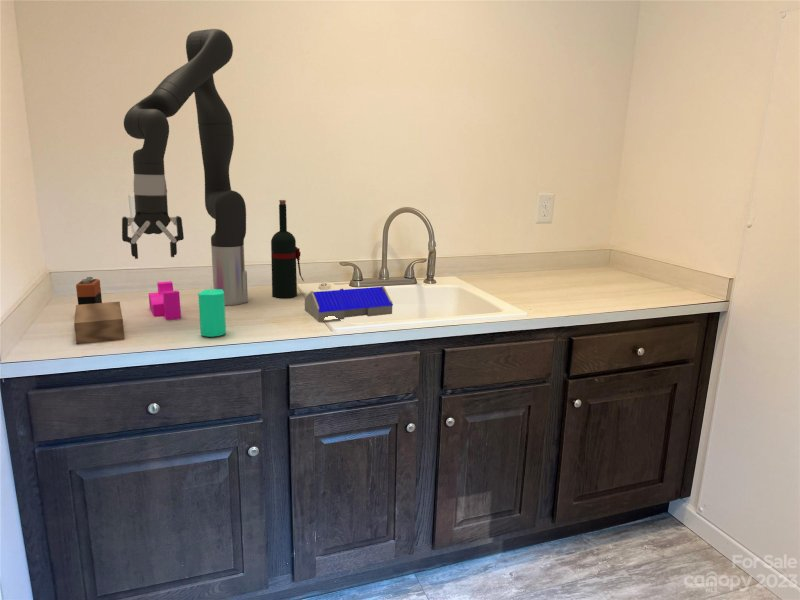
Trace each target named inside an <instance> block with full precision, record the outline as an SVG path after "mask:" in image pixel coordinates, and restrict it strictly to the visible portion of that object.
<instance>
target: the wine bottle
mask: <svg viewBox="0 0 800 600" xmlns="http://www.w3.org/2000/svg"><path fill="white" fill-rule="evenodd" d="M278 201H279V204H278V212H279V213H278V221H279V222H278V223H279V230H278V231H277V232H275V233H274V234H273V235H272V238H271V241H270V246H271V247H270V249H271V250H270V253H271V256H270V257H271V297H272V298H275V299H279V300H280V299H281V300H283V299H286V300H287V299H294V298H296V297H297V296H298V288H297V287H298V286H297V285H298V284H297V283H298V281H297V280H298V279H297V268H298V274H299V276H300V278H301V280H302V282H305V280H304V278H303V277H302V272H301V265H300V260H301V259H300V257H301V251H300V247H298V246H297V242H296V238H295V236H294V235H293V233H292V232H291V231H288V225H287V223H288V221H287V220H288V219H287V204H286V203H287V200H285V199H279V200H278ZM297 266H298V267H297Z"/></svg>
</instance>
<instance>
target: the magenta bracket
mask: <svg viewBox="0 0 800 600" xmlns="http://www.w3.org/2000/svg"><path fill="white" fill-rule="evenodd" d="M156 284H157V292H149V293H148V302H149V309H150V311H151V313H152V316H153V317H154V318H155V317H164V319H165V320H166V321H170V320H179V319H181V320H182V312H181V297H180V295H181V294H180V291H179V290H174V283H173V282H172V281H171V280H169V281H157V282H156Z"/></svg>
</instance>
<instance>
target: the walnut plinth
mask: <svg viewBox="0 0 800 600" xmlns="http://www.w3.org/2000/svg"><path fill="white" fill-rule="evenodd" d="M73 324H74V326H73V327H74V335H75V336H74V337H75V341H76V343H75V344H76V345H81V344H82V345H83V344H91V343H99V342H100V343H101V342H109V341H120V340H125V330H124V319H123V314H122V308H121V302H120V301H109V302H108V301H107V302H102V303H94V304H82V305H78V304H75V312H74V320H73Z"/></svg>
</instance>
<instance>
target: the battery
mask: <svg viewBox="0 0 800 600" xmlns="http://www.w3.org/2000/svg"><path fill="white" fill-rule="evenodd" d="M75 288H76V297H77V305H82V304H94V303H103V300H102V299H103V298H102V290H101V289H102V287H101V280H100V279H99V278H94V276H87V277H86V278H83V279H81V280H80V281H79V282H78V283H76V285H75Z"/></svg>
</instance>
